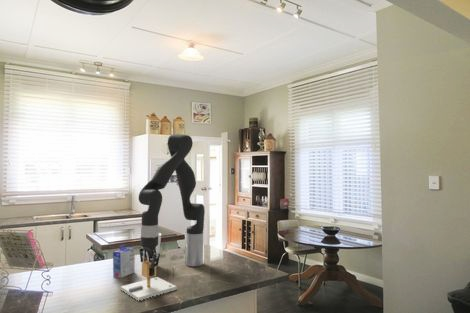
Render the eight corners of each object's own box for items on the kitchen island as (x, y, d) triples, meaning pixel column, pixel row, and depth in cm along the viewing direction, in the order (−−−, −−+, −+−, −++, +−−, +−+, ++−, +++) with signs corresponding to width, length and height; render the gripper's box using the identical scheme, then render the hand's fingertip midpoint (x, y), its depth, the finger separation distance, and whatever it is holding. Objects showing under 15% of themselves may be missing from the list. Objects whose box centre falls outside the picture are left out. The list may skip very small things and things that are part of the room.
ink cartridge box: (126, 270, 167) (127, 242, 167) (135, 272, 165) (135, 243, 165) (112, 276, 158) (112, 246, 158) (120, 278, 156) (121, 248, 156)
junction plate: (120, 290, 142) (120, 277, 142) (157, 280, 154) (157, 268, 154) (138, 301, 130) (138, 287, 130) (176, 289, 143) (176, 277, 143)
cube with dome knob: (141, 275, 142) (142, 260, 142) (150, 273, 145) (151, 258, 145) (146, 277, 139) (147, 262, 139) (155, 275, 142) (156, 260, 142)
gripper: (133, 233, 145) (133, 272, 145) (150, 238, 135) (149, 280, 134) (149, 231, 150) (148, 268, 150) (165, 236, 140) (165, 276, 140)
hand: (148, 274), depth 142 cm, fingers closed on cube with dome knob, 4 cm apart
